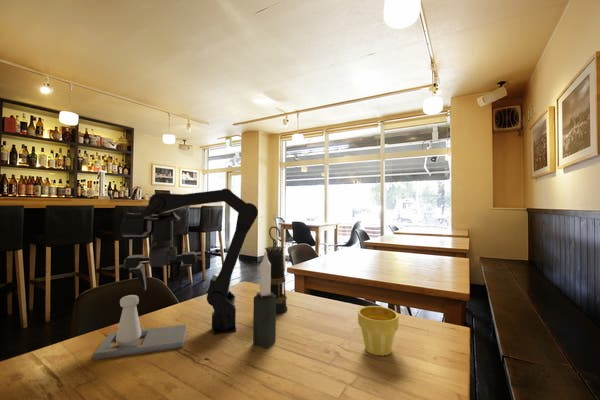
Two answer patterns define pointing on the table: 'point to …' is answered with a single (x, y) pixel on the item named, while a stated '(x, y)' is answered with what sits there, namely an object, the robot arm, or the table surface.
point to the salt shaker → (128, 322)
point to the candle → (264, 309)
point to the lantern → (277, 274)
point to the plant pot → (378, 328)
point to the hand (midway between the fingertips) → (162, 288)
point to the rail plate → (145, 342)
